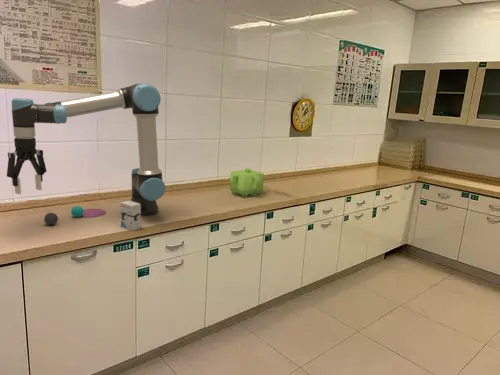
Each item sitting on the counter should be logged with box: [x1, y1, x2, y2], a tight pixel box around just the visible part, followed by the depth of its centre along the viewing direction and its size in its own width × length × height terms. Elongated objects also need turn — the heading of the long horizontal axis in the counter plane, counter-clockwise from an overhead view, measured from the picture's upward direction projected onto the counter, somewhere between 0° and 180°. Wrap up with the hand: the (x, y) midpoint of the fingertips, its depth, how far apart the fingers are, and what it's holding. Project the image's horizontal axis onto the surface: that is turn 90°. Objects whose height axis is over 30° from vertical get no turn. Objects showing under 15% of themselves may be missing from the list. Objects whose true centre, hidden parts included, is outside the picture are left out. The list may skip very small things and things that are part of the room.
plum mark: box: [80, 208, 107, 218], centre depth 191 cm, size 14×14×1 cm
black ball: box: [43, 212, 59, 226], centre depth 171 cm, size 6×6×6 cm
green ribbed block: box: [229, 168, 265, 198], centre depth 246 cm, size 25×23×17 cm
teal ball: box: [70, 205, 84, 218], centre depth 183 cm, size 6×6×6 cm
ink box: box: [120, 200, 142, 231], centre depth 173 cm, size 8×5×12 cm, turn 56°
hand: (28, 191), depth 159 cm, fingers open, 8 cm apart
